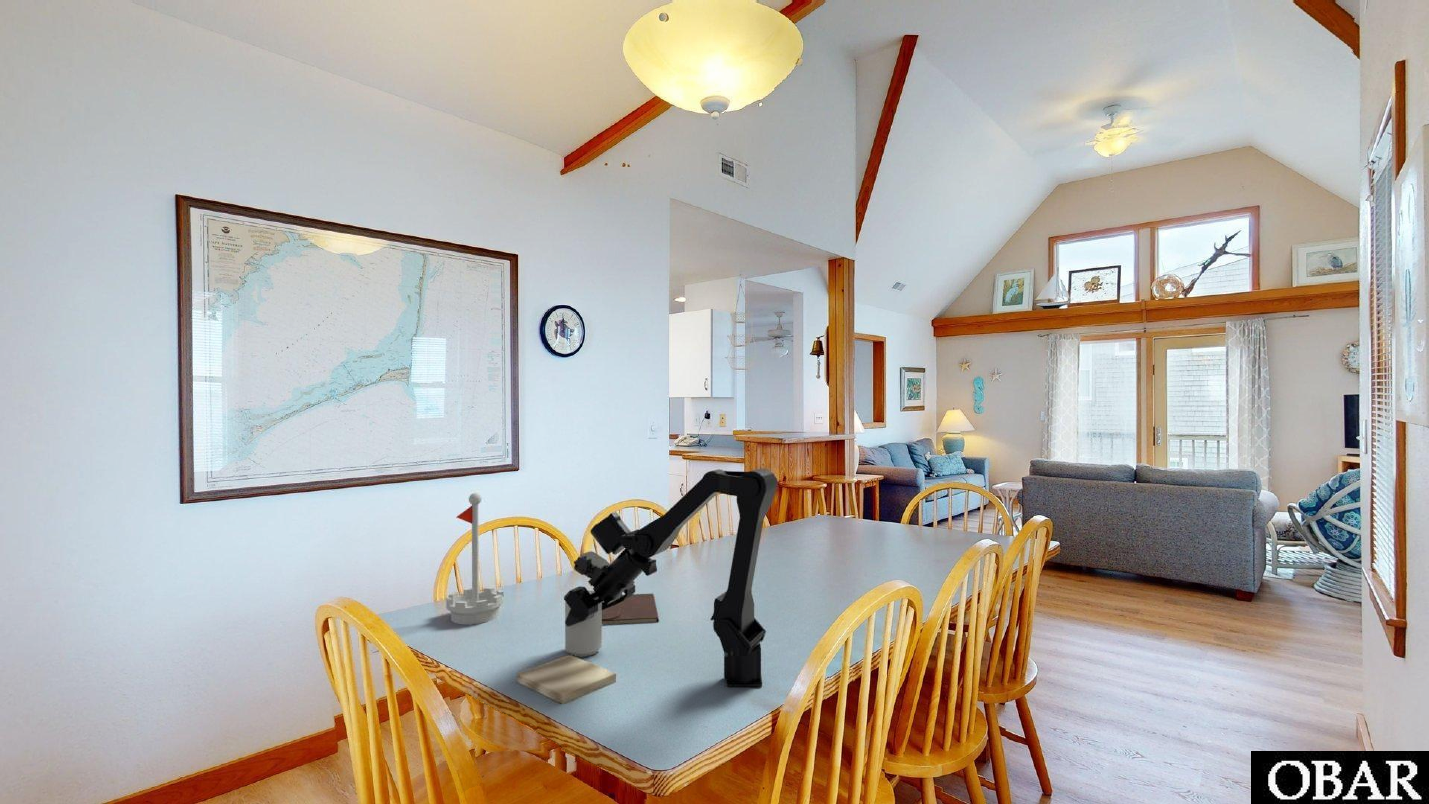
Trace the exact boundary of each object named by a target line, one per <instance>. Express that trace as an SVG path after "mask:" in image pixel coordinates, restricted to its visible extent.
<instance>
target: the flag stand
mask: <svg viewBox="0 0 1429 804" xmlns="http://www.w3.org/2000/svg"><path fill="white" fill-rule="evenodd" d="M468 502H469V504H471V505H470V507H468V508H466V509H464V511H463V512H461V513H460V514H458V515H457V516H456V518H457V519H460V520H462V521H464V522H467V523H470V524H471V588H470V587H469V588H465V589H464V588H463V593H462V594H459V592H458V591H453V592H452V593H450V594H448V597H446V599H445V601H446V602H445V604H446V605H445V607H446V610H448V611H449V612H450V620H451V622H452V623H454V624H458V625H477V624H483V623H486V622H491V621H494V620H495V619H497V618H498V617H499V616H500V607H501V606H503V604H504V602H505V601H504V600H505V599H504V591H503V589H497V590H496V592H495V587H486V586H485V587H483V591H479V589H480V588H479V587H480V584H479V583H480V582H479V579H480V578H479V575H480V574H479V570H480V567H479V562H480V561H479V556H480V554H479V543H480V542H479V527H480V526H479V524H480V523H479V504H480V503H481V502H482V496H481V494H480V493H478V492H473V493H471V494H470V495H469V496H468Z"/></svg>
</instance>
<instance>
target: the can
mask: <svg viewBox="0 0 1429 804" xmlns="http://www.w3.org/2000/svg"><path fill="white" fill-rule="evenodd" d="M587 590H588V592H589V593H590V594H592V593H595V592H594V590H589V589H587ZM564 602H565V603H564V622H565V621H566V618H567V616H568V614H569V611H570V609H571V608H570V607H569V606H568V604H567V603H566V601H564ZM564 625H565V626H564V628H565V629H564V631H565V632H564V640H565V641H564V642H565V643H564V645H565V646H564V648H565V651H566V652H567V653H570V654H569V655H572V656H573V655H574V657H589V656H592V655H595V654H597V653H598V651H599V650H601V648H602V646H603V641H602V640H603V632H602V631H603V627H602V626H603V625H602V603H600V604H598V612H597V613H596V614H595V615H594V616H593V617H592V618H590V619H588V620H586V621H583V622H579V623H576V624H574V625H571V626H567V625H566V624H565V623H564ZM596 652H597V653H596ZM588 655H589V656H588Z"/></svg>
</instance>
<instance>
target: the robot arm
mask: <svg viewBox="0 0 1429 804" xmlns="http://www.w3.org/2000/svg"><path fill="white" fill-rule="evenodd" d="M778 485H779V482H778V478H777V476H776V475H775V473H773V471H771V470H769V469H767V468H763V467H760V468H756V469H754V470H750V471H749V470H748V471H739V470H738V471H735V470H733V471H732V470H723V469H715V470H710V471H709V470H708V471H707V472H705V473H704V474H703V475H702V477H701V479H700V480H699V481H698V482H697V483H696V484H694V485H693V487H691V488H690V490H688V491H687V493H685V494H684V495H683V496H682V497H680V499H679V500H678V501H677V502H675V504H673V506H672V507H670V508H669V510H668V511H666V512H665V513H664V514H662V515H661V516H660V517H658V518H656V519H654V520H652V521H651V522H649V523H647V524H646V525H644V526H643V527H642V528H640V529H639V528H638V529H636V530H633V531H631V530H630V528H629V527H628V526H627V525H626V523H625V522H624V521H623V520H622V518H621V515H619V514H618V512H616V511H615V512H612V513H609V515H607V516H606V517H605V518H603V519H602V520H600V521H599V522H598V523H595V524H594V525H593V527H592V528H591V529H590V531H589V533H590V535H591V536H592V537H593V538H594V539H595V540H596V542H597V544H598V545H599V546H600V547H601V549H602V550H603V551H604V552H605V554H606V555H609V554H611V553H612V554H613V555H617V554H618V556H617V557H616V558H615V559H614V560H613V561H612V562H611V563H610V562H608V560H607V559H605V558H603V556H601V555H599V554H597V552H595V551H592V550H591V551H587V552H584V553H581V554H580V555H579V556H578V557H577V559H576V560H574V561H573V564H574V566H573V569H574V571H575V572H577V573H578V574H580V575H582V576H585V577H587V578H589V580H588V581H587V582H588V584H589V585H590V587H593V588H592V591H594V592H595V593H592V594H590V593H589V592H588V590H589V589H588V588H586V587H585V586H581V585H580V586H577V587H574V588H573V589H569V591H568V592H567V593H566V594H565V595H564V596H563V600H564V602H566V603H567V604H568V606H569V607H570V608H571V609H570V611H569V614H568V616H567V618H566V621H565V620H564V625H565V624H566V625H567V626H571V625H574V624H576V623H579V622H583V621H586V620H588V619H590V618H592V617H593V616H594V615H595V614H596V613H597V612H598V604H600V603H602V610H604V609H607V608H609V607H611V606H614V605H616V604H618V603H620V602H622V601H624V600H625V599H627V598H629V597H631V596H632V595H633V594H636V585H635V580H636V579H637V578H638V577H639V576H640V575H641V574H642V573H644V575H645V576H647V577H649V576H651V575H653V574H656V573H657V571H658V568H657V567H658V566H657V560H656V559H652V558H651V557H654V556H657V555H659V554H661V553H663V552H665V551H667V550H668V549H669V548H670V547H671V546H672V545H673V543H674V542H675V540H676V539H677V537H678V536H679V533H680V532H681V530H682V528H683V527H684V526H685V525H686V524H687V523H688V522H689V521H690V520H691V519H692V518H693V517H694V516H695V515H696V514H698V513H699V512H700V511H701V509H703V508H704V507H705V506H706V505H707V504H709V502H711V500H712V499H713V498H715V496H717V495H718V494H723V495H726V496H727V495H728V496H732V497H733V496H734V497H736V505H737V509H738V515H739V520H738V525H737V526H738V527H737V531H736V538H735V542H734V549H733V555H732V561H731V567H730V572H729V578H728V584H727V588H726V591H725V592H723V593H721V594H720V595H719V596H717V597H716V598H715V599H714V602H713V614H712V615H711V617H710V621H711V622H712V621H713V622H712V627H713V628H712V629H713V632H714V633H715V634H716V636H717V637H718V638H719V641H720V645H721V647H722V650H723V652H724V653H723V679H724V680H726V686H727V687H762V686H763V680H762V678H763V677H762V647H761V645H762V644H761V643H762V642H763V641H764V639H765V636H766V635H767V631H766V629H765V628H764V627H763V626H762V624H760V622H759V621H758V619H756V618H755V602H754V597H753V593H752V592H753V590H752V589H753V583H754V577H755V571H756V566H757V560H758V555H759V549H760V544H761V543H760V541H761V537H762V532H763V527H764V519H765V517H766V515H767V513H768V511H769V510H770V508H771V505H772V504H773V501H774V499H775V495H776V493H777V490H778ZM623 593H624V594H623ZM622 595H624V596H622Z"/></svg>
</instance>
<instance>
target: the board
mask: <svg viewBox="0 0 1429 804" xmlns="http://www.w3.org/2000/svg"><path fill="white" fill-rule="evenodd" d="M516 682H517V683H519V684H521V685H523V686H525V687H528V688H529V689H531V690H534V691H536V692H537V693H540V694H541V695H542V696H543V695H544V696H546V697H547V698H549V699H552V700H554V701H556V702H558V703H560V704H566V703H568V702H571V701H572V700H575V699H578V698H580V697H582V696H584V695H588V694H590V693H592V692H595V691H597V690H599V689H601V688H604V687H606V686H608V685H612V684H613V683H616V682H617V673H616V672H614V671H611V670H608V669H606V668H604V667H601V666H599V665H596V664H594V663H592V662H589V661H587V660H583V659H581V658H579V657H578V656H573V655H571V654H568V655H565V656H562V657H559V658H557V659H554V660H551V661H548V662H545V663H543V664H540V665H537V666H534V667H532V668H528V669H525V670H522V671H520V672H518V673H516ZM594 690H595V691H594Z"/></svg>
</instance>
